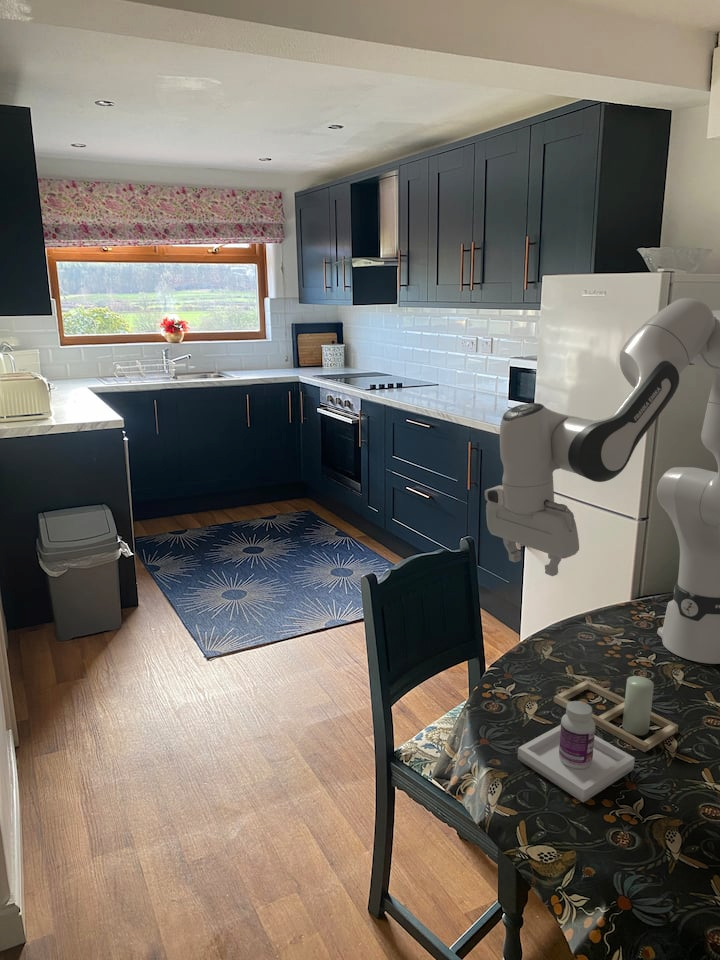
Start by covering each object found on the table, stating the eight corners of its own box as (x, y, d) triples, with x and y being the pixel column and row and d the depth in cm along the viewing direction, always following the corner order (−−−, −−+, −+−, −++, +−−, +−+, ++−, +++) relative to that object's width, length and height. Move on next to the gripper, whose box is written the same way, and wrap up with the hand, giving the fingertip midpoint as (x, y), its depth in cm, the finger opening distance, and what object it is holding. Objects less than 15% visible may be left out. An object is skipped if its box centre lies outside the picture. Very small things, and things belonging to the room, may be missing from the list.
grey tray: (567, 731, 125) (568, 720, 125) (633, 769, 115) (634, 757, 115) (517, 759, 118) (518, 747, 117) (583, 802, 108) (584, 790, 107)
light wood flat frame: (586, 685, 140) (587, 679, 140) (677, 731, 125) (678, 725, 125) (553, 702, 134) (554, 696, 134) (644, 752, 120) (645, 746, 119)
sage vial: (631, 717, 129) (636, 673, 127) (653, 729, 126) (659, 683, 124) (617, 726, 127) (621, 681, 125) (639, 738, 123) (644, 692, 121)
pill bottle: (594, 772, 113) (599, 718, 111) (559, 768, 114) (563, 715, 112) (590, 751, 119) (594, 699, 116) (557, 747, 120) (561, 696, 117)
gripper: (585, 502, 120) (589, 578, 124) (503, 482, 137) (508, 549, 141) (558, 511, 117) (562, 589, 121) (478, 490, 134) (483, 558, 138)
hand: (532, 567), depth 131 cm, fingers open, 8 cm apart
